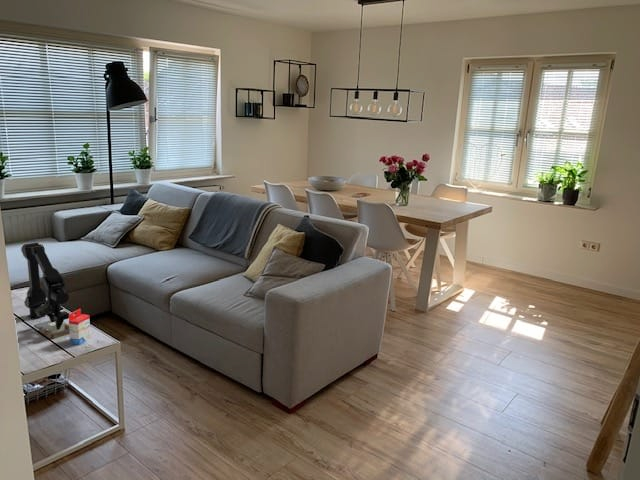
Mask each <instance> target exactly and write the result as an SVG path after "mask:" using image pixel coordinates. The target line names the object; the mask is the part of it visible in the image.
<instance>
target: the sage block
mask: <svg viewBox="0 0 640 480" xmlns="http://www.w3.org/2000/svg"><path fill="white" fill-rule="evenodd" d="M64 322H65V321H63V323H62V325H61V327H60V329H59V330H57V327H56V323H55V322H52V323H49V324H48V329H47V331H49V332H50V333H52V334H56V333H59V332H62V331H66V328H65V326H64Z"/></svg>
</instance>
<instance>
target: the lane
mask: <svg viewBox="0 0 640 480" xmlns="http://www.w3.org/2000/svg"><path fill="white" fill-rule="evenodd" d="M63 322H64V326H65V330H63V331H60V332H57V333H53V334H52V333H50V332H49V331H48V329H44V328H43V327H39V328H40V329H39V328H38V329H39V332H40V333H41V334H43V335H45V336H46V337H47V338H49V339H50V340H55V339H58V338H62V337H65V336H68V335H70V331H69V323H66V322H65V321H63Z"/></svg>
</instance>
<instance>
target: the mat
mask: <svg viewBox="0 0 640 480" xmlns="http://www.w3.org/2000/svg"><path fill="white" fill-rule="evenodd" d="M49 323H51V321H50V320H46V321H42V322H39V323H35V324H34V326H35V327H36V328H37V329H39V330H40V328H39V327H43V328H44V329H46V330H48V324H49Z"/></svg>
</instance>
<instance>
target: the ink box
mask: <svg viewBox="0 0 640 480" xmlns="http://www.w3.org/2000/svg"><path fill="white" fill-rule="evenodd" d="M90 323H91V322H90V315H89V314H83V313H82V309H81V308H78V309H76V310H75V311H72V312H71V313H69V319H68V325H69V331H70V334H69V341H70V344H71V345H78V346H80V345H82V344H83V343H85V342H86V341H88V340H89V339H91V324H90Z"/></svg>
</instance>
